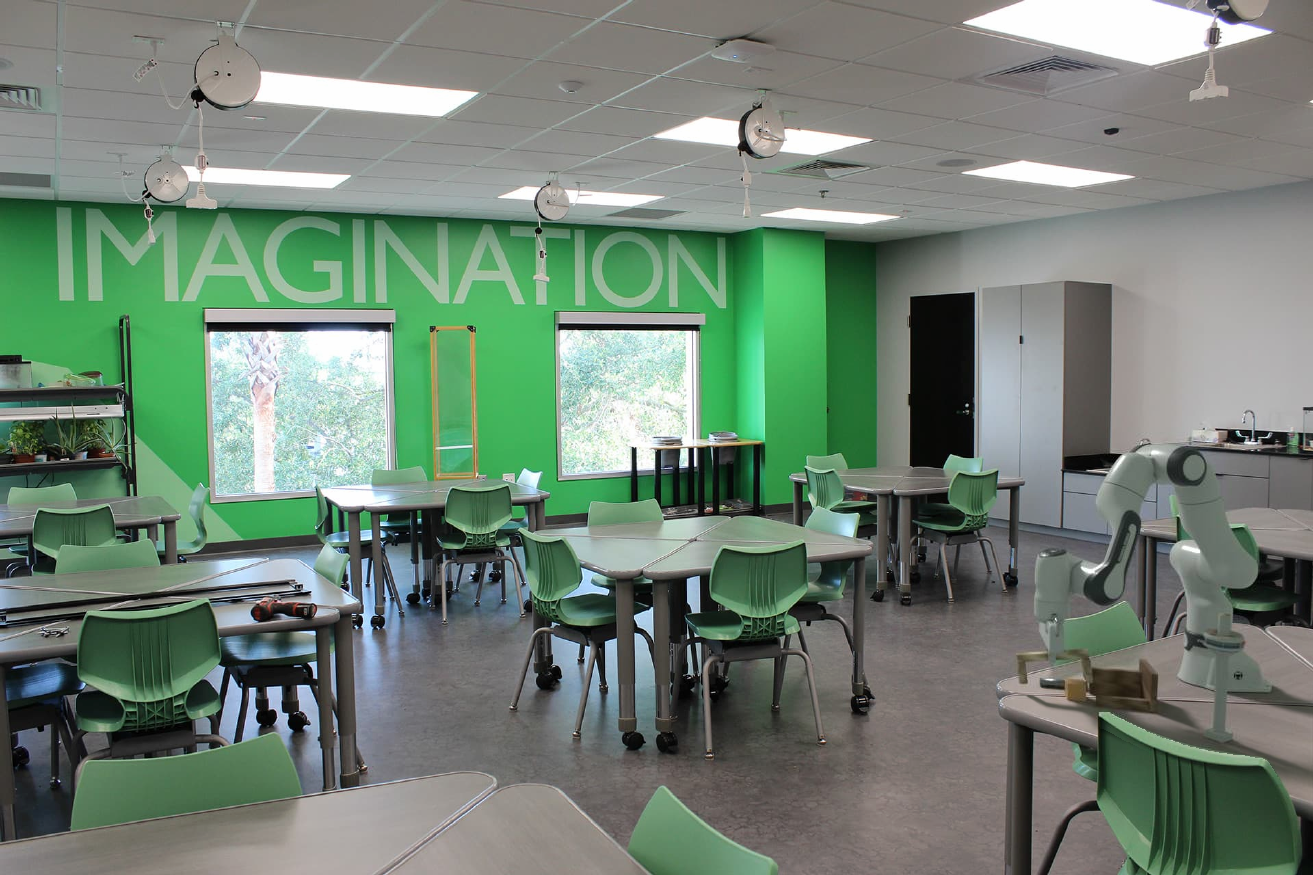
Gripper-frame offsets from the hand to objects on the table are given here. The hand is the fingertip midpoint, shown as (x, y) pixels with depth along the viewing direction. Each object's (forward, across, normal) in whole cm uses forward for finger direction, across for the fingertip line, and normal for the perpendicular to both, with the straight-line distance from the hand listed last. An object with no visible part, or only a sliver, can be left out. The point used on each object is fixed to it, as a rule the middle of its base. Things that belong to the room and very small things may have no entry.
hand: (1050, 660), depth 254 cm
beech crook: (+6, 0, -1) cm, 6 cm away
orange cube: (+10, 0, -6) cm, 12 cm away
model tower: (+10, -21, -34) cm, 42 cm away
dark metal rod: (+10, +7, -4) cm, 13 cm away
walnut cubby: (+10, 0, -18) cm, 20 cm away
